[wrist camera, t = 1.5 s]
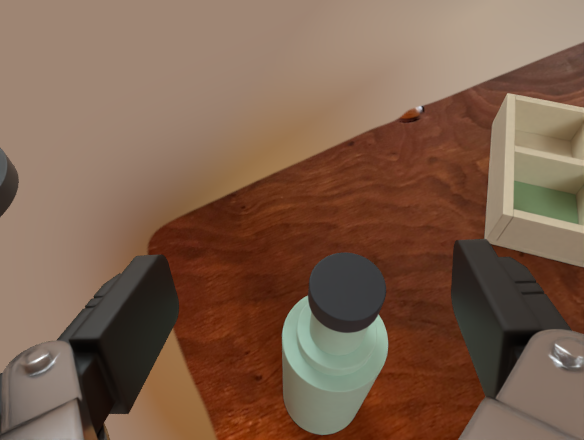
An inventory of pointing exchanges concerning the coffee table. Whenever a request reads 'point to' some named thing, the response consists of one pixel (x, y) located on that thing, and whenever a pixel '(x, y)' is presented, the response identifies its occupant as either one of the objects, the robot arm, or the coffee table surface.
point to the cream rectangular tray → (537, 179)
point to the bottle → (334, 343)
